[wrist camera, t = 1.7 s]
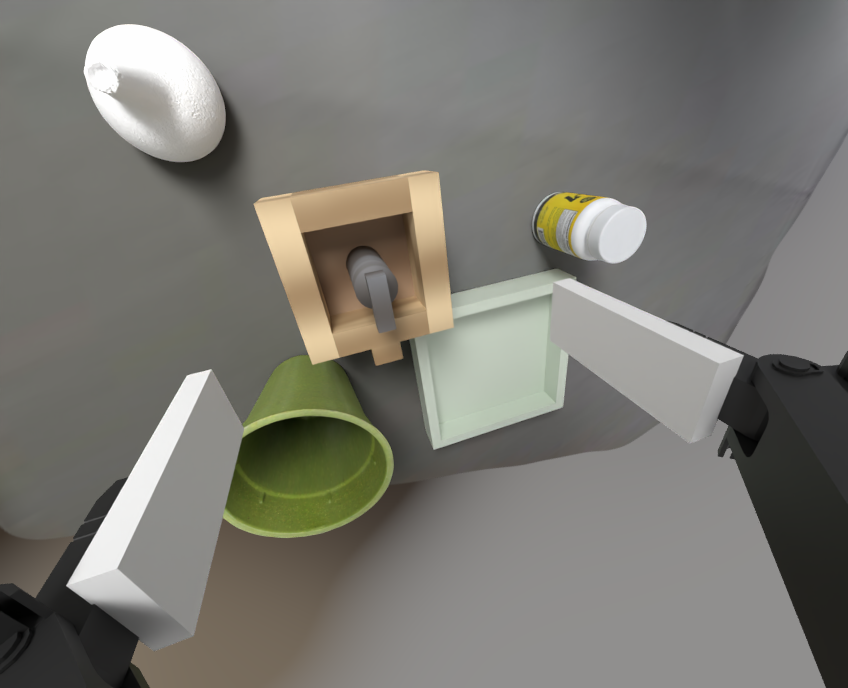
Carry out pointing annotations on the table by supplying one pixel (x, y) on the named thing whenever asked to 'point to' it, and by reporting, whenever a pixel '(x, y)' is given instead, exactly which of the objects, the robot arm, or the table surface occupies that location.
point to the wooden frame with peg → (354, 204)
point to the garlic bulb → (155, 93)
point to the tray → (491, 360)
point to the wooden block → (363, 267)
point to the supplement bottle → (589, 226)
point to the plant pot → (307, 455)
